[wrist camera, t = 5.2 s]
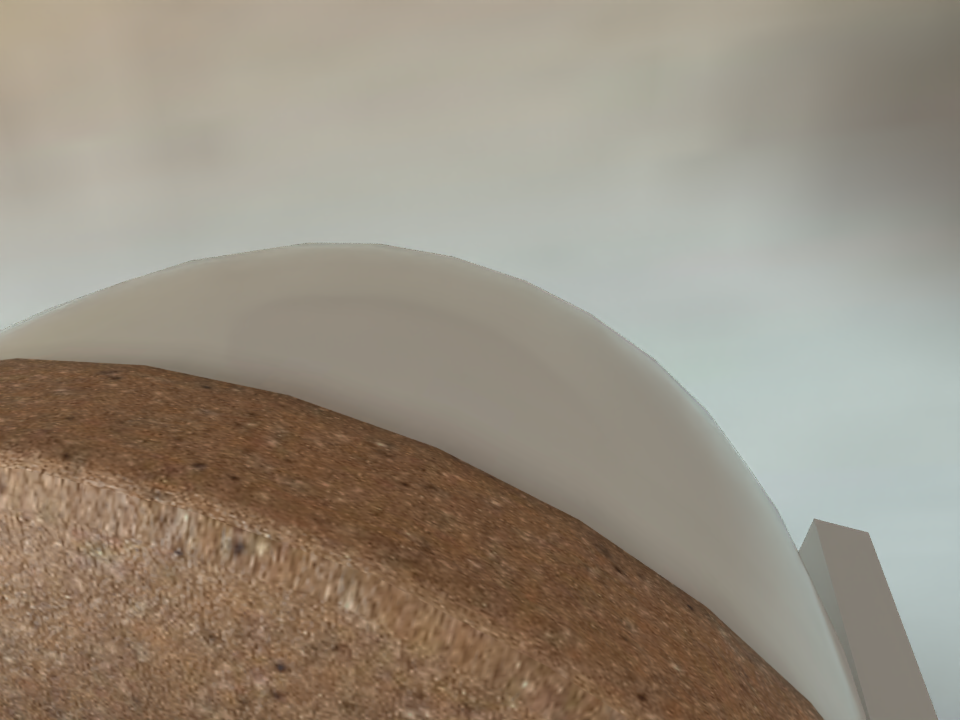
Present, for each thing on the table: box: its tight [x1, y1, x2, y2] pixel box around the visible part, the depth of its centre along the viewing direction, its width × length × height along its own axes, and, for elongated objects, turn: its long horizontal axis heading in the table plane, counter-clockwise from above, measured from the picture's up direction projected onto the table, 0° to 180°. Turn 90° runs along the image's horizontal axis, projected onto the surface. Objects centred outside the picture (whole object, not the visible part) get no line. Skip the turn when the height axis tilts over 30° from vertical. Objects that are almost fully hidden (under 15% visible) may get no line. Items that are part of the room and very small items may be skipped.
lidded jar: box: [0, 243, 867, 720], centre depth 8 cm, size 11×11×9 cm
